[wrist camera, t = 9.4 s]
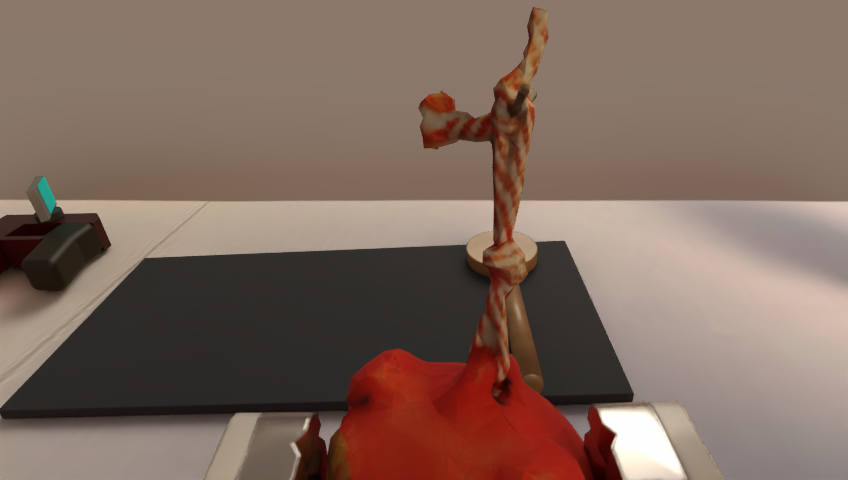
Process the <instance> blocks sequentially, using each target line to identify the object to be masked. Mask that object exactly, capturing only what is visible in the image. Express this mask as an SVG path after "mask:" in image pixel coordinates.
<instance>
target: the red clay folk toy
mask: <svg viewBox="0 0 848 480" xmlns="http://www.w3.org/2000/svg"><path fill="white" fill-rule="evenodd" d="M527 28H528V34H529V41H528V44H527V46H526V48H525V50H524V59H523V60H522V62H521V63H520V64H519V65H518V66H517V68H515V69H514V70H513V71H512V72H511V73H509V74H508V75H506V76H505V77H503V78H502V79H501V80H500V81H499V82H498V83H497V85H496V86H495V87H494V89H493V90H494V96H495V102H494V105H493V107H492V110H491V112H490V113H488V114H485V115H483V116H481V117H478V118H473V117H472V116H471V115H470V114H468V113H466V112H460V111H456V110H455V100H454V99H453V98H451V97H450V96H448V95H447V94H446V93H444V92H443V91H441V92H440V93H438V94H430V95H428V96H427V97H426V98H425V99H424V100H423V101H422V102H421V103H420V106H419V108H418V109H419V110H420V112H421V114H422V116H423V120H422V123H421V125H420V129H421V133H422V137H423V144H424V148H433V149H438V147H442V146H445V145H449V144H452V143H455V142H457V141H458V140H466V141H473V142H483V141H490V142H491V144H492V149H493V183H494V184H493V185H494V226H493V241H494V244H493V245H491V246H490V247H488V248H487V249H485V250H484V251H483V260H482V264H483V265H484V267H485V269H486V270H487V272H488V275H489V278H490V281H491V284H490V288H489V292H488V296H487V300H486V307H485V313H484V314H483V316H482V317H481V319H480V321H479V322H478V324H477V327H476V331H475V334H474V337H473V341H472V344H471V347H470V351H469V355H468V359H467V363H457V362H427V361H423V360H420V359H419V358H417V357H415V356H414V355H412V354H411V353H409V352H407V351H404V350H401V349H393V350H388V351H384V352H382V353H381V354H380V355H378V356H377V357H376V358H374V359H373V360H371V361H370V362H369V363H367V364H366V365H365V366H364V367H363V368H361V369H360V370H359V371H358V372H357V373H356V374H355V375H354V376H352V378H351V381H350V386H349V390H348V394H347V397H346V403H347V405H348V412H347V413H346V415H345V416H344V417H343V420H342V423H341V426H340V428H339V429H338V430H337V431H336V432H335V434H334V435H333V436H332V437H331V440H330V445H329V450H328V455H327V478H326V480H595V479H594V477H593V474H592V470H591V467H590V463H589V460H588V456H587V454H586V451H585V448H584V441H583V440H582V439H581V437H580V436H579V434H578V433H577V432H576V430H575V429H574V428H573V426H572V425H571V424H570V423H569V421H568V420H567V419H566V418H565V417H564V416H563V415H562V414H561V413H560V412H559V411H558V410H557V409H556V408H555V407H554V406H553V405H552V404H551V403H550V402H549V401H548V400H547V399H545V398H544V397H543V396H541V395H540V394H539V393H537V392H536V391H535V390H533V389H532V388H531V387H529V386H528V385H527V384H526V383H525V382H524V381H523V378H522V375H521V371H520V368H519V365H518V363H517V361H516V360H515V358H514V357H513V355H512V354H510V353H509V346H508V330H507V316H506V303H505V300H506V298H507V297H508V296H509V294H510V293H511V291H512V290H513V288H514V287H515V286H516V285H518V284H519V283H521V282H522V281H523V280H524V279H525V277H526V276H527V274H528V272H527V266H526V260H525V253H524V252H523V251H522V250H521V249H520V247H519V246H518V245H517V244H516V243H515V242H514V240H513V237H512V234H513V229H514V225H515V221H516V216H517V212H518V208H519V203H520V199H521V194H522V190H523V183H524V172H525V165H526V160H527V155H528V150H529V145H530V140H531V135H532V130H533V126H534V118H535V106H534V104H533V103H532V102H533V100H534V99H535V98H536V96H537V92H536V91H535V90H534V89H532V88H530V81H531V80H532V78H533V77H534V76H535V74H536V72H537V68H538V65H539V62H540V59H541V57H542V54H543V51H544V48H545V45H546V43H547V40H548V11H547V10H544V9H540V8H535V7H533V9H532V12H531V15H530V18H529V22H528V25H527Z"/></svg>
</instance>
